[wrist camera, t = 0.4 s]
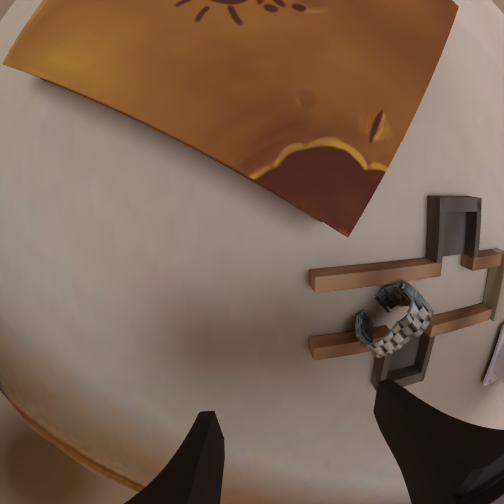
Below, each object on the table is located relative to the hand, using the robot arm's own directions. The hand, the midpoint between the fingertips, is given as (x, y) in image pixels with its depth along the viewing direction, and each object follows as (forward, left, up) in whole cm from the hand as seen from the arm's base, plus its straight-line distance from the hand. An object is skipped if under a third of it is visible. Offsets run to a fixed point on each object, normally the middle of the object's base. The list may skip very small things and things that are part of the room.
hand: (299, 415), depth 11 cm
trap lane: (-11, -1, -9) cm, 14 cm away
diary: (+1, -21, -9) cm, 23 cm away
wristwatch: (-7, -1, -10) cm, 12 cm away
